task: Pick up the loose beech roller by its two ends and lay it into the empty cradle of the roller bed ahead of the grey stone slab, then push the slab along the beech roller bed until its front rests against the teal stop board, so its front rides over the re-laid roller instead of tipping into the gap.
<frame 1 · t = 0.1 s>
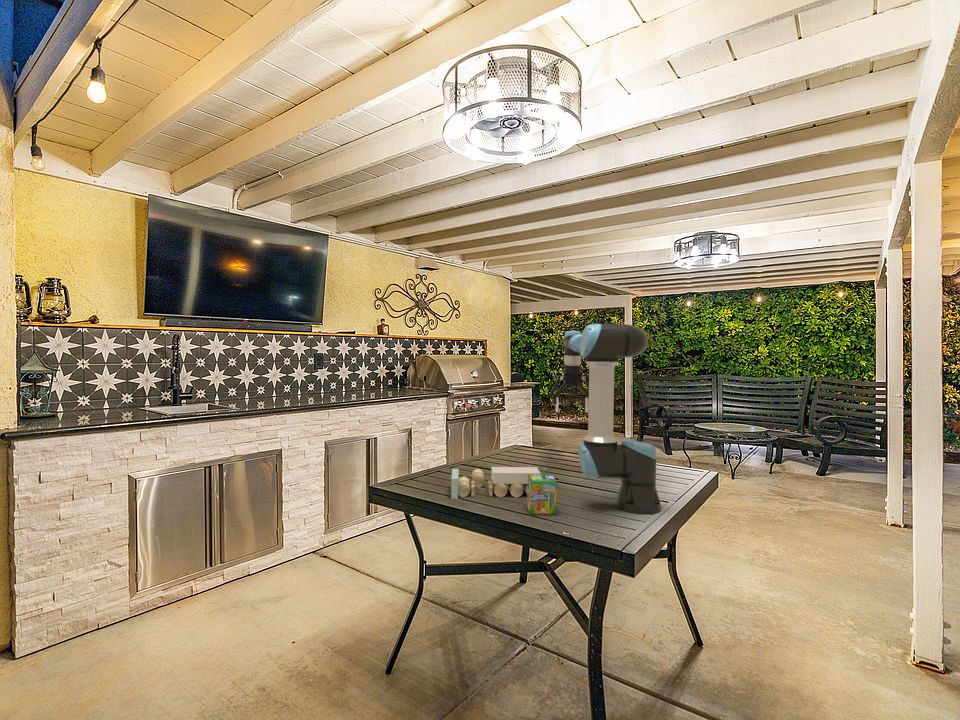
hand: (571, 412, 222), 28 cm above the table, tool pointing down, fingers open, 13 cm apart
stop board: (454, 492, 189), on the table
roller bed: (497, 493, 189), on the table
chalk box: (541, 511, 169), on the table
slab: (515, 480, 190), point 5 cm above the table, touching roller bed
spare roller: (478, 483, 203), on the table
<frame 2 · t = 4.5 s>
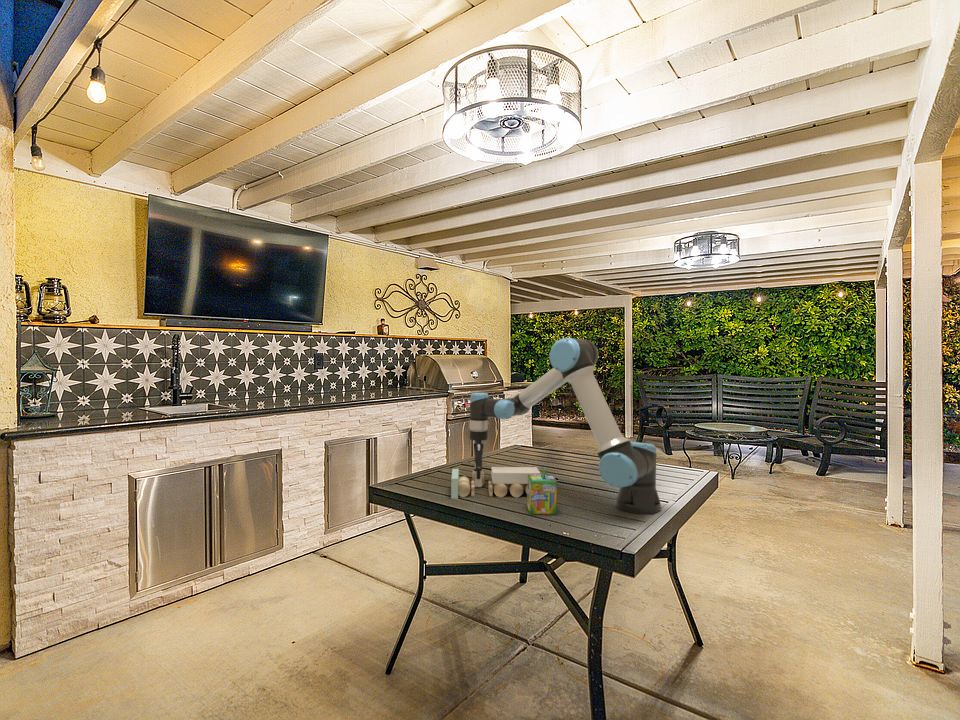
hand: (477, 482, 203), 0 cm above the table, tool pointing down, fingers closed on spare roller, 11 cm apart
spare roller: (478, 483, 203), on the table, touching gripper
everything else where it was.
when the fingers open (2 cm above the table, at t = 9.6 s): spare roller drops 2 cm, on the table.
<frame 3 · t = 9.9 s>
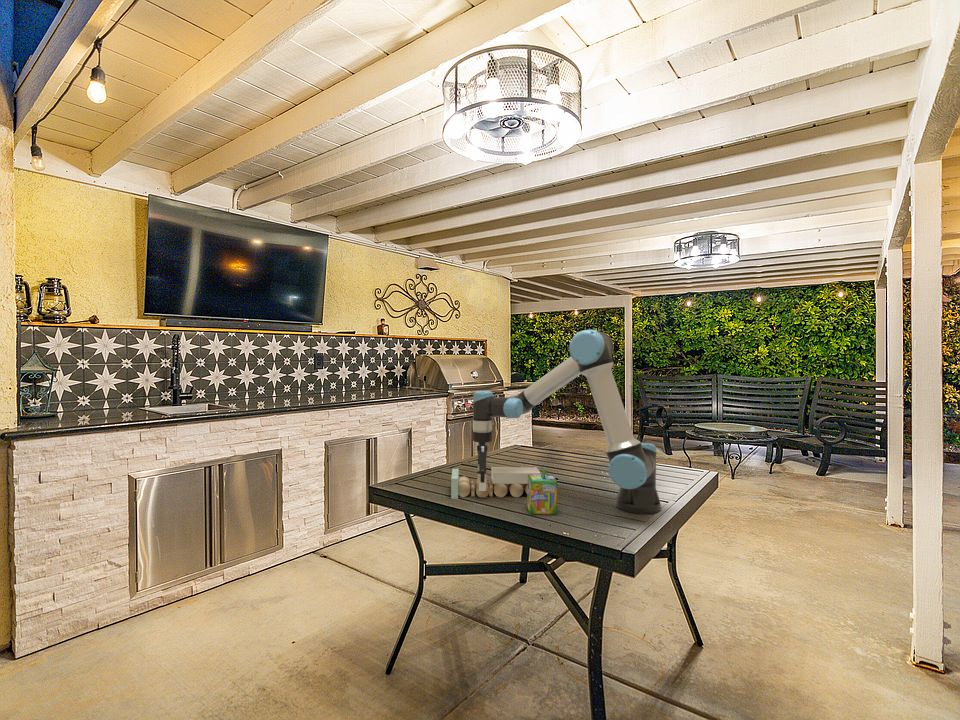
hand: (481, 486, 189), 3 cm above the table, tool pointing down, fingers open, 13 cm apart
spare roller: (481, 493, 189), on the table
everything else where it was.
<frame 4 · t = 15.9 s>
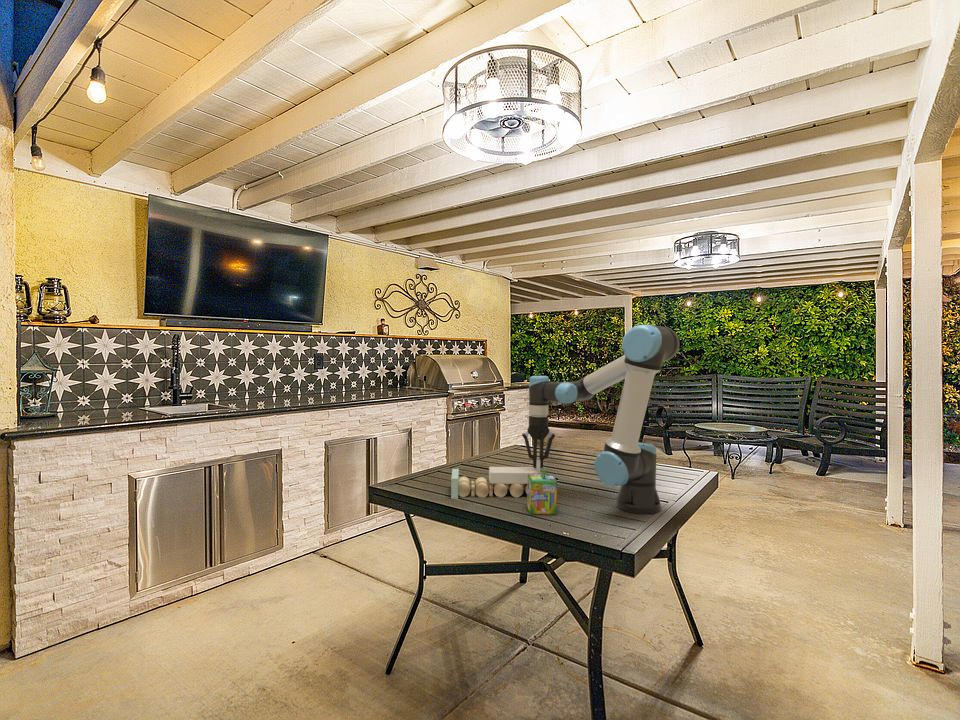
hand: (537, 476, 190), 7 cm above the table, tool pointing down, fingers closed
slab: (512, 480, 190), point 5 cm above the table, touching gripper
everything else where it was.
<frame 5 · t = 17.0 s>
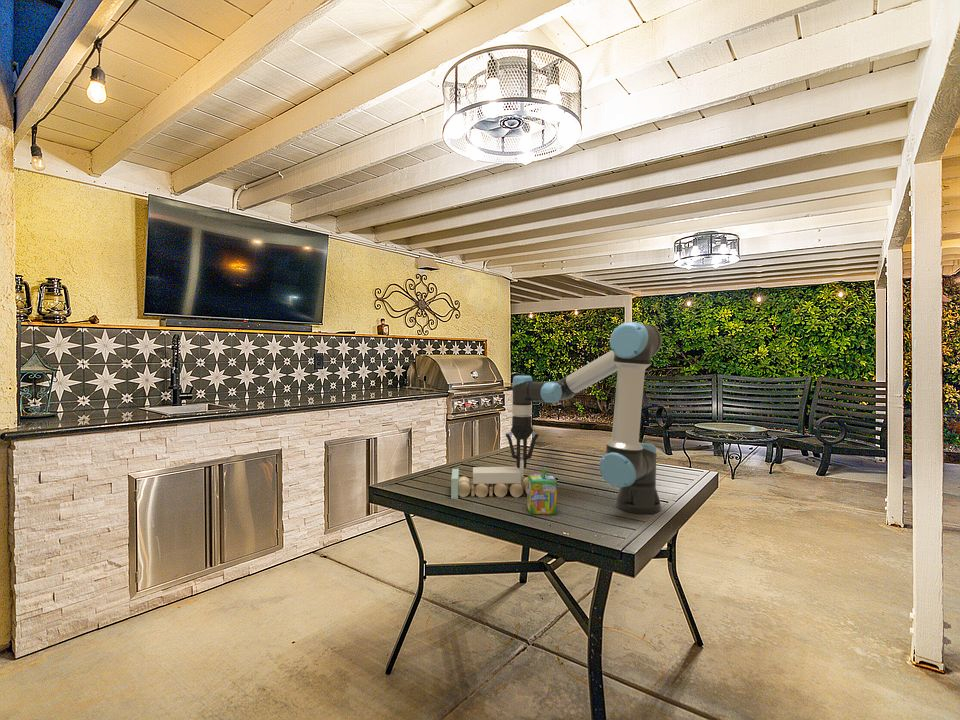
hand: (521, 476, 190), 7 cm above the table, tool pointing down, fingers closed
slab: (496, 480, 189), point 5 cm above the table, touching gripper, roller bed
everything else where it was.
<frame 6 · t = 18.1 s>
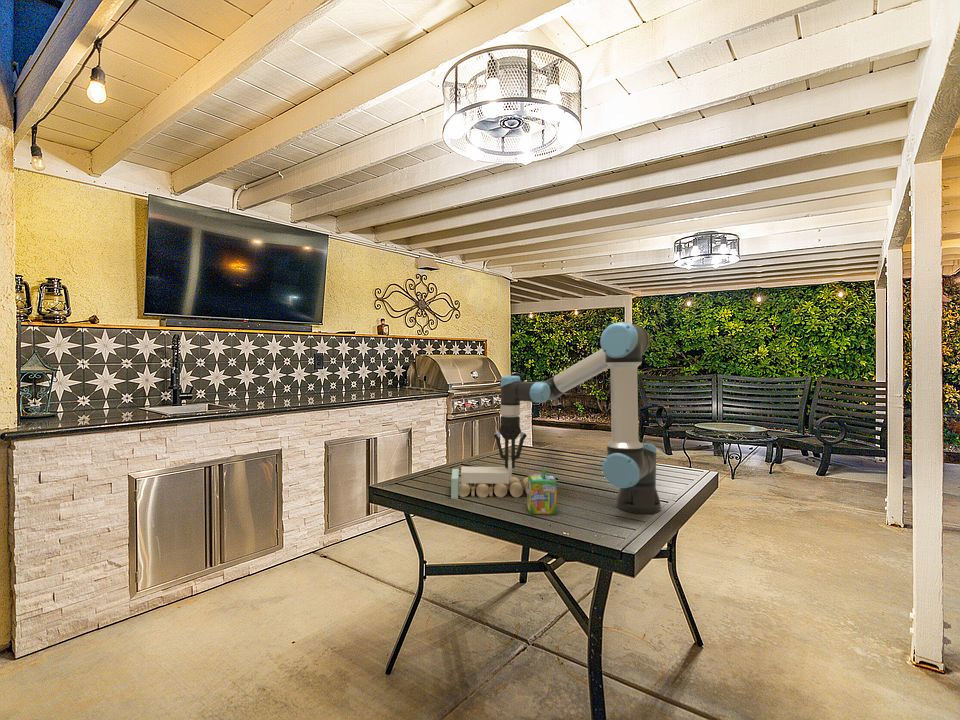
hand: (509, 476, 190), 6 cm above the table, tool pointing down, fingers closed
slab: (484, 480, 189), point 5 cm above the table, touching gripper
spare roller: (483, 493, 189), on the table, tilted 13°
everything else where it was.
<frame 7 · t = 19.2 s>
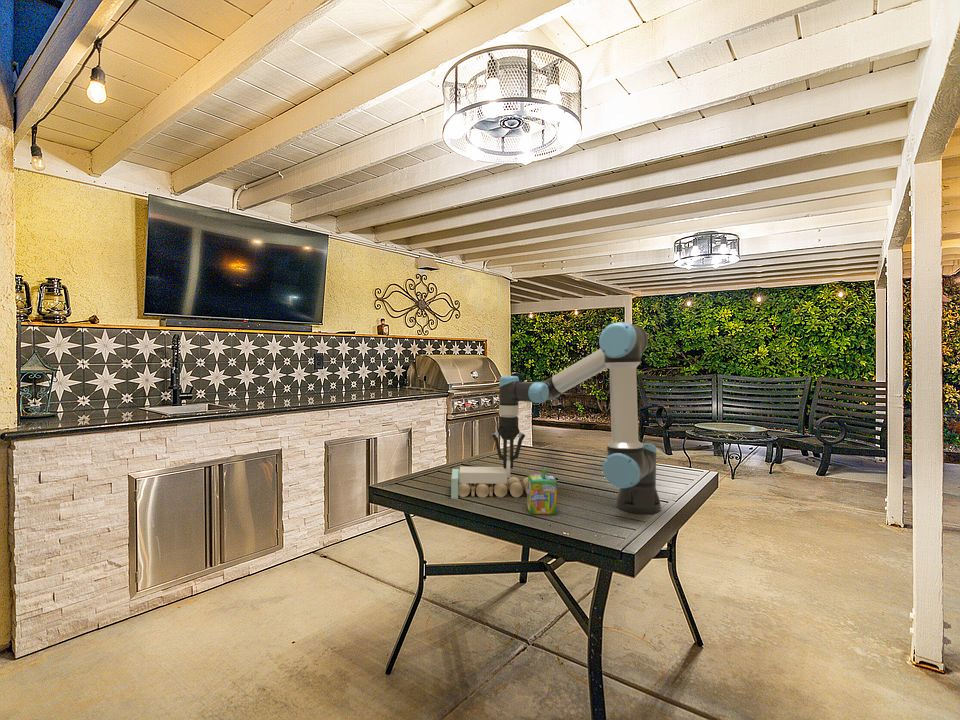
hand: (508, 476, 189), 6 cm above the table, tool pointing down, fingers closed
slab: (482, 480, 189), point 5 cm above the table, touching roller bed
everything else where it was.
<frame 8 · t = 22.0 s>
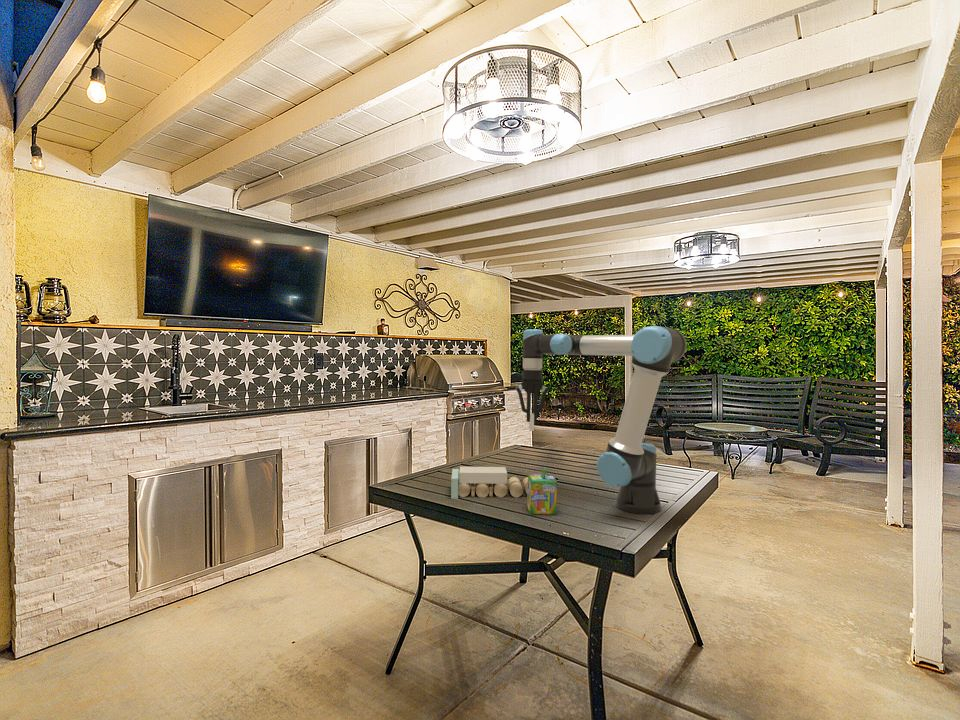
hand: (531, 430, 189), 24 cm above the table, tool pointing down, fingers closed
nothing on the table moved.
at the end: slab 0.2 cm from the target spot, point 5.0 cm above the table; slab tilted 0°; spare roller inside the target area under the slab (0.7 cm from its centre), point -5.1 cm above the slab's base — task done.
